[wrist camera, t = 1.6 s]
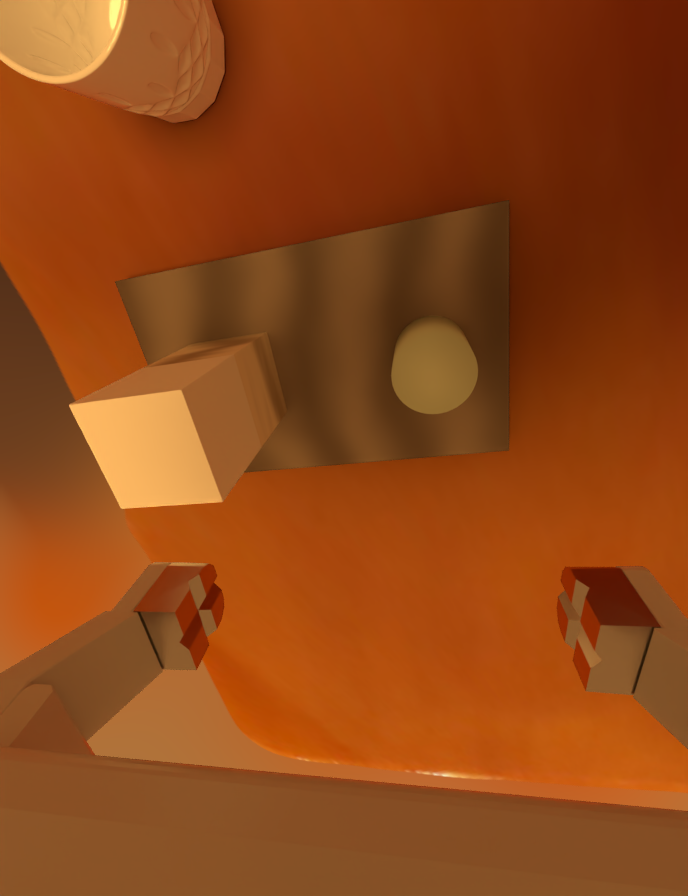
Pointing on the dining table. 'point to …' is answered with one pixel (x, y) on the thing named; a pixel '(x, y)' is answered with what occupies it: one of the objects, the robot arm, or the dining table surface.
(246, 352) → the tower base block
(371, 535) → the dining table surface
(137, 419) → the tower top block
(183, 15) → the white cup
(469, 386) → the green cylinder
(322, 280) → the walnut board
